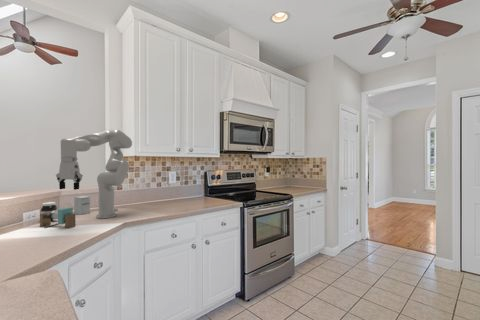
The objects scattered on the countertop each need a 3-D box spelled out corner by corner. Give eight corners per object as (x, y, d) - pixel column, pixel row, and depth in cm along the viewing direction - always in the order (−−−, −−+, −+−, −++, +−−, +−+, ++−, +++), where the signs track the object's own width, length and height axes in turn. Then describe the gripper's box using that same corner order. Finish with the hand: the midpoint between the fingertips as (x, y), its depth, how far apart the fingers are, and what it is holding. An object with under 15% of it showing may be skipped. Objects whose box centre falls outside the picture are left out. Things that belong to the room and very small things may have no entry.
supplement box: (81, 214, 171) (81, 197, 171) (73, 214, 174) (73, 197, 174) (90, 212, 178) (90, 196, 178) (83, 212, 181) (83, 195, 181)
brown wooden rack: (36, 227, 140) (36, 214, 140) (51, 223, 148) (51, 211, 148) (64, 229, 136) (64, 216, 136) (78, 225, 145) (78, 212, 145)
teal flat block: (57, 224, 138) (57, 209, 138) (68, 220, 145) (68, 207, 145) (62, 224, 137) (62, 209, 137) (72, 221, 144) (72, 207, 144)
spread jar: (45, 218, 160) (45, 201, 160) (65, 217, 164) (65, 200, 164) (37, 223, 148) (37, 205, 148) (58, 221, 152) (58, 204, 152)
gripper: (87, 159, 139) (87, 188, 139) (62, 159, 142) (62, 187, 142) (76, 160, 131) (76, 190, 132) (50, 160, 134) (50, 189, 135)
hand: (69, 189), depth 137 cm, fingers open, 9 cm apart
